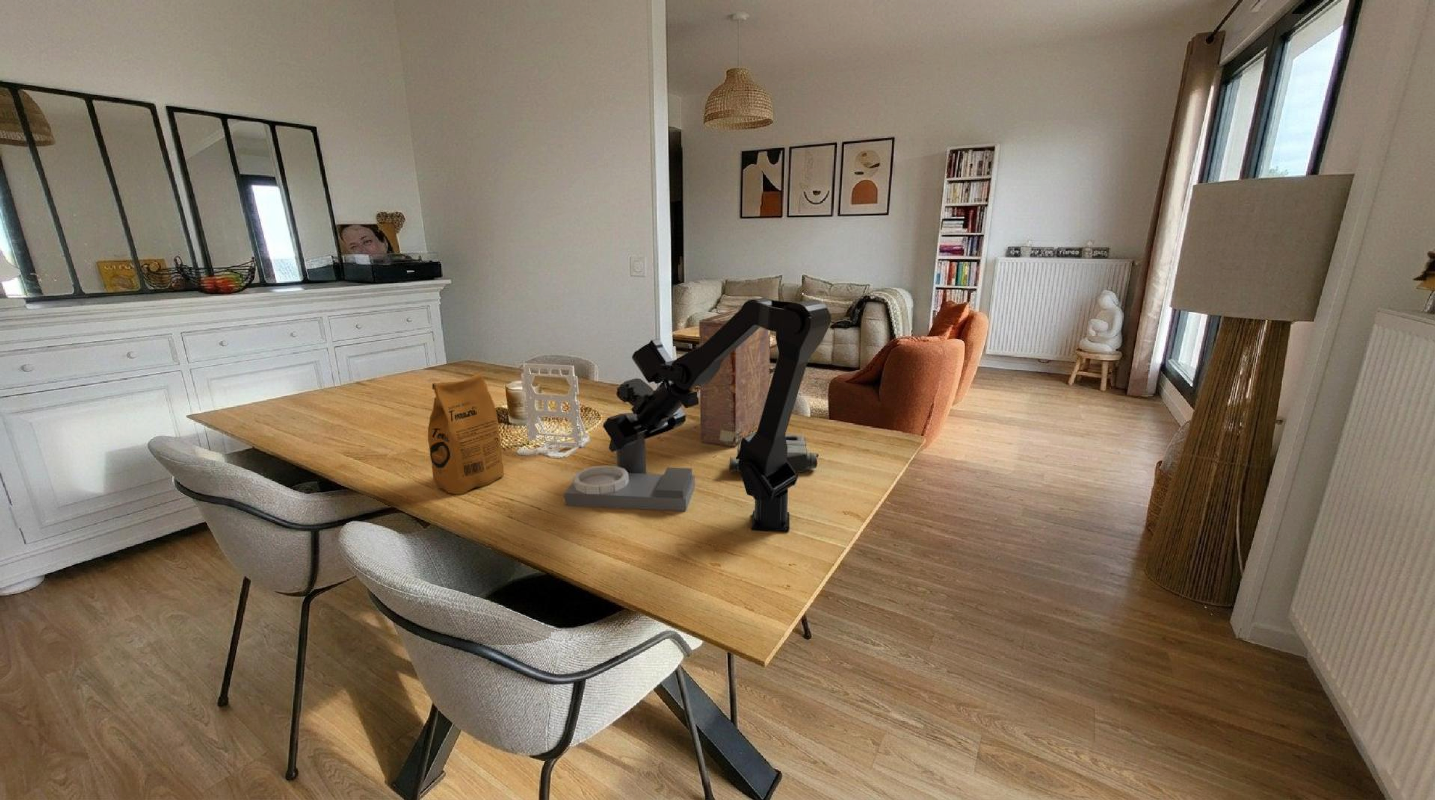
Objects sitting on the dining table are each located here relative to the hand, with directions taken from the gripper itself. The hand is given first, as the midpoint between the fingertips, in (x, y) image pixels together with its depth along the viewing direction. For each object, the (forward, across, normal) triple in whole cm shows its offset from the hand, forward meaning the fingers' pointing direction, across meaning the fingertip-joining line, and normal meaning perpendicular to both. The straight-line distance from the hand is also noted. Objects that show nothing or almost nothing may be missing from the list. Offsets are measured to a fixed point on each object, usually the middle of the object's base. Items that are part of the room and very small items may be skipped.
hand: (627, 443), depth 118 cm
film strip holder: (+24, -2, -14) cm, 28 cm away
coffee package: (+22, +22, -12) cm, 33 cm away
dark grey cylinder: (+4, 0, +6) cm, 7 cm away
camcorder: (-10, -24, +20) cm, 33 cm away
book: (+4, -38, +6) cm, 39 cm away
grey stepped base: (-1, +7, +11) cm, 13 cm away
